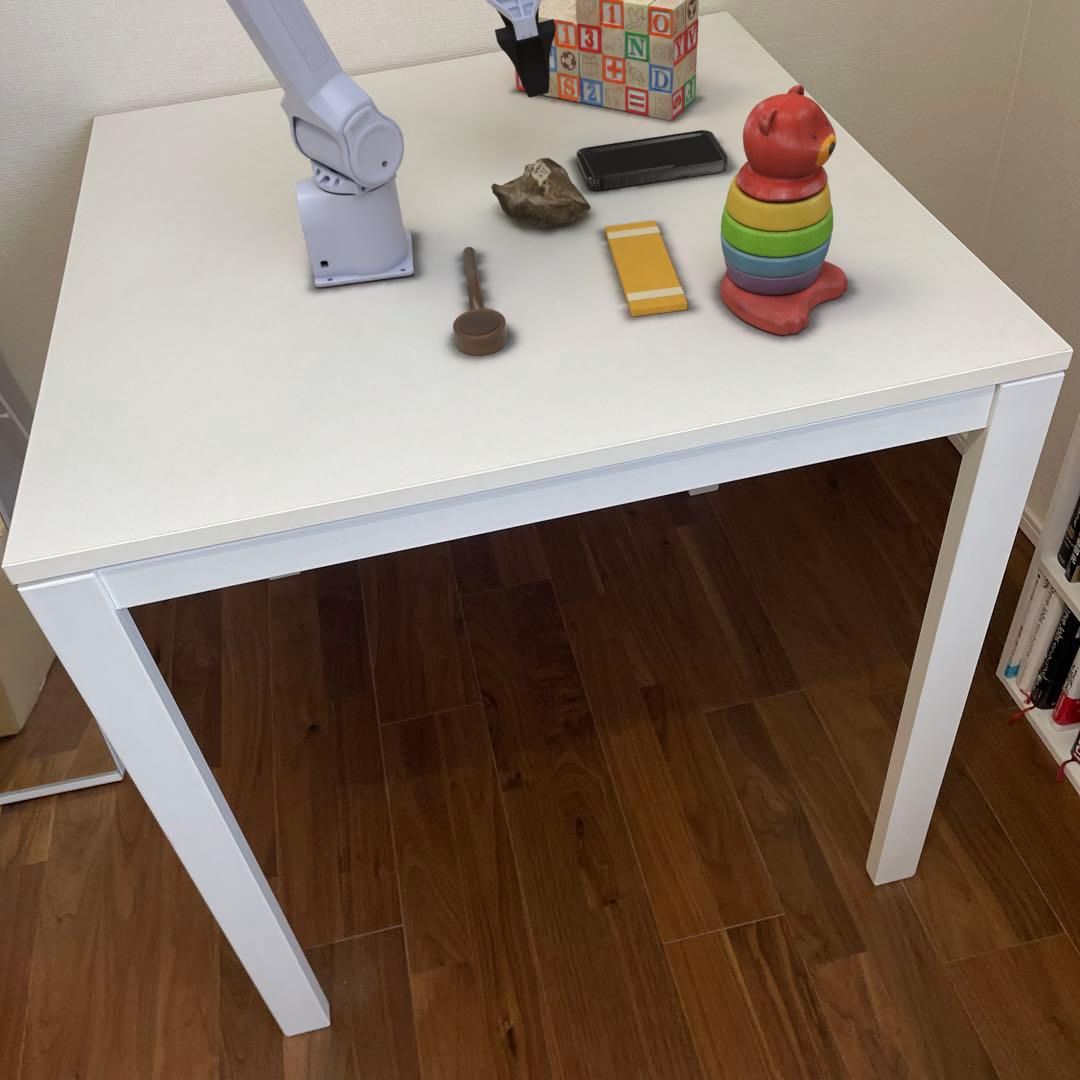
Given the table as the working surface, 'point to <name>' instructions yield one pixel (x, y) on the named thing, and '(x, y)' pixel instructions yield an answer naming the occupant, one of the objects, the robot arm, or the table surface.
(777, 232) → the stacking bear
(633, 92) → the stack of blocks
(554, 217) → the fossilized seashell
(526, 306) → the table surface
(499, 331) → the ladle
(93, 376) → the table surface
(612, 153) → the phone
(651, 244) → the towel
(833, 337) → the table surface
